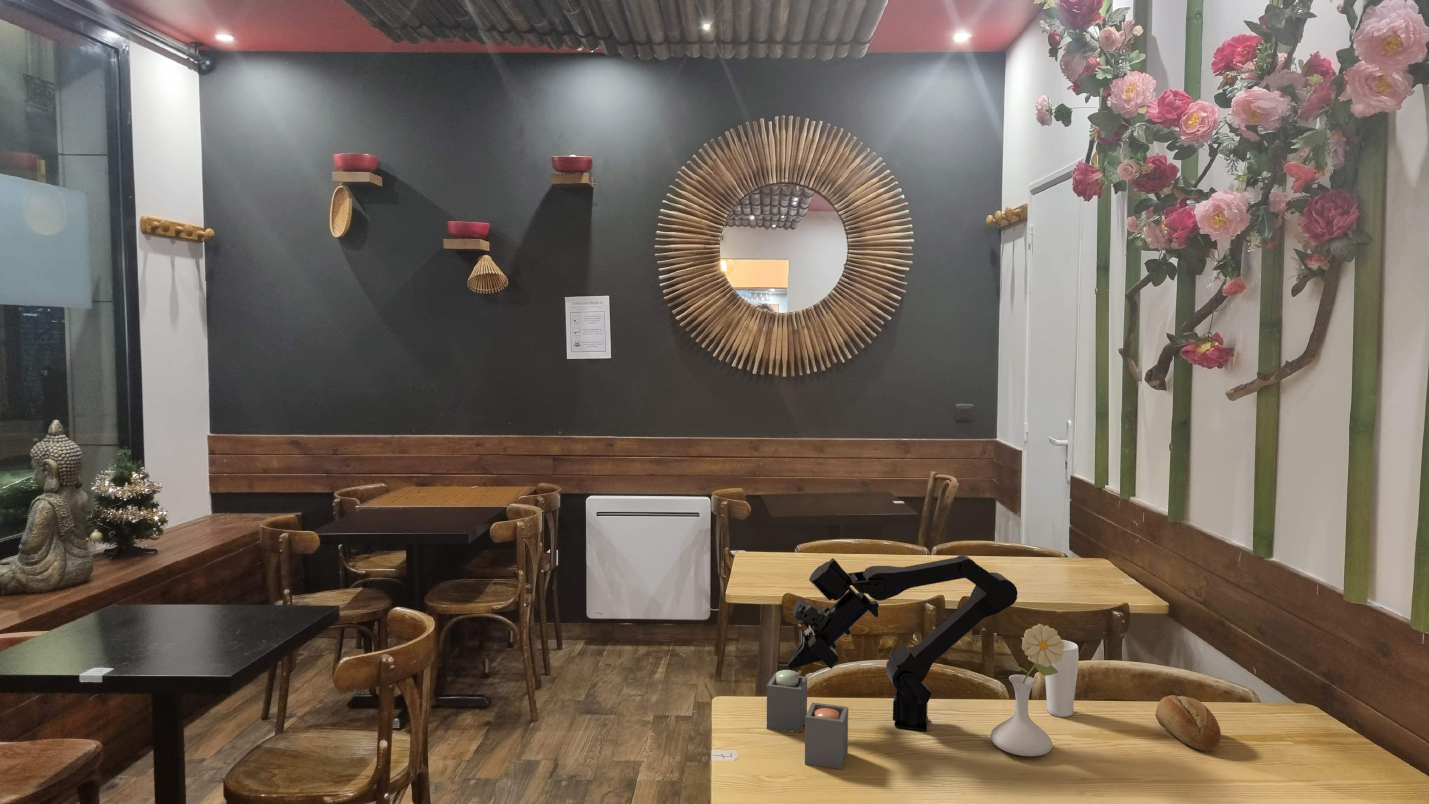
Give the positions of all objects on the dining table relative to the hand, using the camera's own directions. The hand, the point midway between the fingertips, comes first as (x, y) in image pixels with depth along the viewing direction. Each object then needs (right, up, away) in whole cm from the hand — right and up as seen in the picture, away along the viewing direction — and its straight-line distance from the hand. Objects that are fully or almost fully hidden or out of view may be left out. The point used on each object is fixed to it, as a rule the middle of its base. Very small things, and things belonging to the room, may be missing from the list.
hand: (788, 667), depth 173 cm
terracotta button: (+6, -7, -15) cm, 17 cm away
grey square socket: (0, -12, +1) cm, 12 cm away
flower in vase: (+45, -13, -10) cm, 48 cm away
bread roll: (+79, -13, -5) cm, 81 cm away
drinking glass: (+59, -12, +6) cm, 60 cm away
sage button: (0, -4, 0) cm, 4 cm away
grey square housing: (+6, -13, -14) cm, 20 cm away
